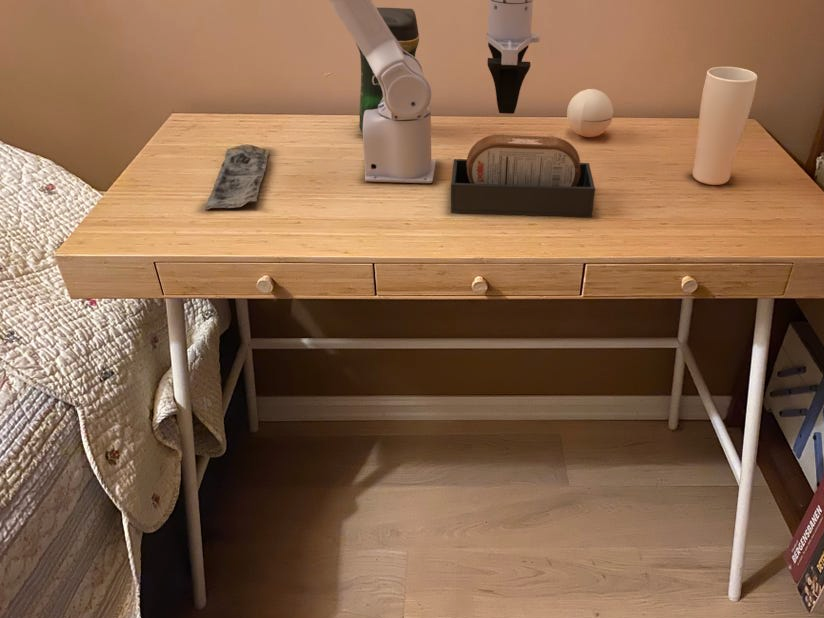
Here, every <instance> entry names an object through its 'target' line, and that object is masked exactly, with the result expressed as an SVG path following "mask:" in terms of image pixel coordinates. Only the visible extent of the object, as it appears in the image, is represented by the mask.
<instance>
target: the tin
mask: <svg viewBox="0 0 824 618" xmlns="http://www.w3.org/2000/svg"><path fill="white" fill-rule="evenodd" d="M466 159H467V174H468V178H469V181H470V183H471V184H502V185H534V186H567V187H576V185H577V183H578V181H579V178H580V163H581V159H580V155H579V153H578V151H577V149H576V147H575V146H573V144H572V143H570V142H569V141H567V140H565V139H564V138H561V137H557V136H545V135H544V136H543V135H542V136H541V135H519V134H502V133H500V134H499V133H495V134H490V135H487V136H484V137H482V138H481V139H479V140H478V141H476V142H475V143H474V144H473V146H472V147H471V148H470V150H469V152H468V154H467V158H466Z"/></svg>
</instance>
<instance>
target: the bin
mask: <svg viewBox="0 0 824 618" xmlns="http://www.w3.org/2000/svg"><path fill="white" fill-rule="evenodd" d="M450 180H451V181H450V213H451V214H478V215H507V216H508V215H511V216H538V217H539V216H541V217H543V216H544V217H545V216H546V217H574V218H575V217H577V218H578V217H579V218H593V211H594V204H595V194H596V187H595V181H594V178H593V173H592V169H591V166H590V163H589V162H580V178H579V181H578V183H577V185H576V187H567V186H534V185H502V184H471V183H470V181H469V178H468V174H467V158H465V159H464V158H453V163H452V172H451V179H450Z"/></svg>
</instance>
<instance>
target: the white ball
mask: <svg viewBox="0 0 824 618" xmlns="http://www.w3.org/2000/svg"><path fill="white" fill-rule="evenodd" d="M624 111H625V112H626V109H624V110H623V109H622V110H620V112H624ZM617 112H618V110H614V107H613V104H612V101H611V99H610V97H608V95H607V94H606V93H604V92H603V91H601V90H599V89H596V88H587V89H583V90H580V91H579V92H577V93H576V94H574V96H572V98H571V100H570V101H569V102H568V105H567V109H566V118H567V122H568V124H569V127H570V128H571V129H572V130H573V131H574V132H575V134H577V135H579V136H582V137H584V138H593V137H598V136H601V134H603V133H605V132H606V131H607V129H608V128H609V127H610V125H611V124H612V121H613V117H614V113H617Z"/></svg>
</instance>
